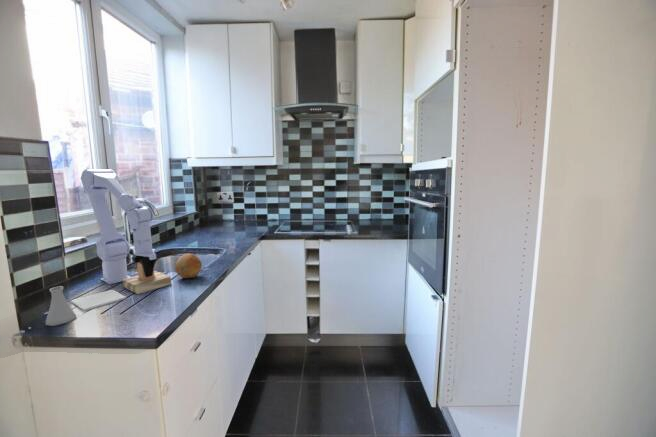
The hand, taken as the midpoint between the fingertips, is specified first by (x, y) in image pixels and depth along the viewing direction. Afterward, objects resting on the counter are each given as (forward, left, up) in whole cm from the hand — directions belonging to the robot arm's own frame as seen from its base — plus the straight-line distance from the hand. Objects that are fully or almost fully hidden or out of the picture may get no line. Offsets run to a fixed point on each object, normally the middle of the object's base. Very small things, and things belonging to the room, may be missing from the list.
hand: (146, 275), depth 119 cm
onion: (+5, +14, -4) cm, 16 cm away
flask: (+9, -28, -4) cm, 30 cm away
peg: (0, 0, -4) cm, 4 cm away
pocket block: (0, 0, -4) cm, 4 cm away
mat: (+1, -16, -4) cm, 17 cm away
